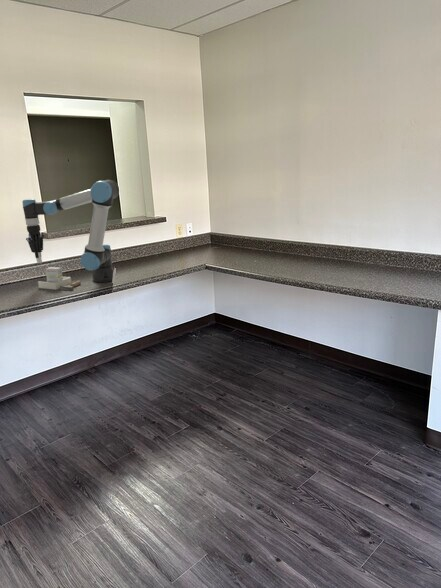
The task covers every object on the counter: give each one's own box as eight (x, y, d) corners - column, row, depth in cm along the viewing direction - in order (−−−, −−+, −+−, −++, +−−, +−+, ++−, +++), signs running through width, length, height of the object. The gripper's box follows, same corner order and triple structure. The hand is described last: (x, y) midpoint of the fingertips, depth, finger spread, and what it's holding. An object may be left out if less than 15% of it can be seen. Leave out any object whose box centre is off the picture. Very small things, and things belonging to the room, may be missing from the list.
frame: (71, 283, 283) (71, 277, 282) (56, 289, 270) (55, 283, 269) (55, 281, 287) (54, 275, 286) (38, 287, 274) (38, 281, 273)
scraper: (74, 283, 282) (73, 280, 281) (84, 284, 279) (84, 281, 278) (60, 289, 270) (60, 285, 270) (71, 290, 268) (70, 286, 267)
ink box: (64, 285, 279) (61, 267, 275) (60, 287, 274) (57, 269, 271) (52, 284, 280) (49, 266, 277) (47, 287, 276) (44, 268, 272)
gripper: (35, 223, 278) (42, 260, 285) (20, 226, 267) (27, 264, 274) (45, 223, 276) (51, 260, 282) (29, 226, 264) (36, 265, 271)
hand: (39, 262), depth 278 cm, fingers closed
